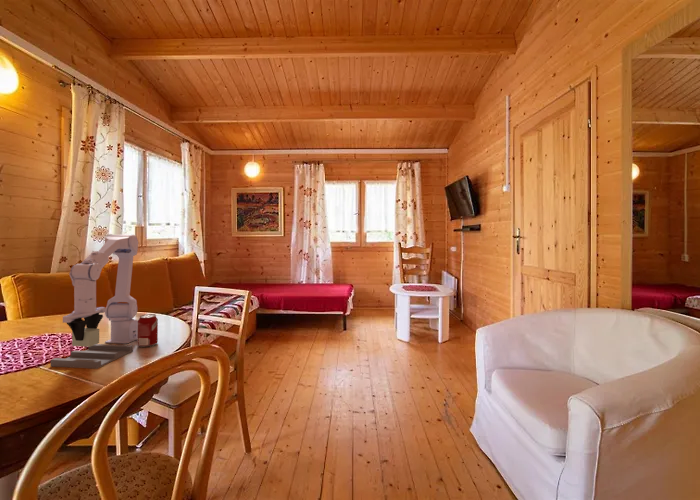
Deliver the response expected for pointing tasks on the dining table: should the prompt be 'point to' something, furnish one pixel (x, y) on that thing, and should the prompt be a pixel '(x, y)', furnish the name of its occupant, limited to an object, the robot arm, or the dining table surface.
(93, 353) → the ribbed grey tray
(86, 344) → the plug block
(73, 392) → the dining table surface
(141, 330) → the soda can
